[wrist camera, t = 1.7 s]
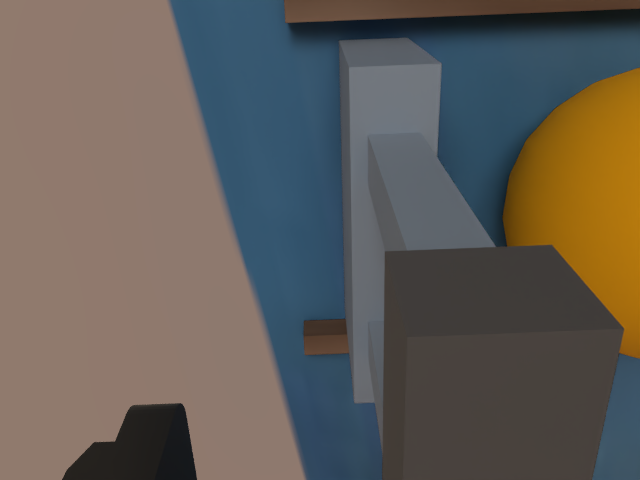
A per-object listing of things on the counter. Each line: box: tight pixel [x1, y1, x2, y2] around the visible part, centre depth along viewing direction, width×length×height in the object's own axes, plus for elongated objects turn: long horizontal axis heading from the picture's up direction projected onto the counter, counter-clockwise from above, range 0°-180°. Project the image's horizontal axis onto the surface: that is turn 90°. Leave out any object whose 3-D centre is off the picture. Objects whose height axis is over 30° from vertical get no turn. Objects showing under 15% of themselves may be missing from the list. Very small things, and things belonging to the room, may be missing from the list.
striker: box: [339, 38, 624, 480], centre depth 13 cm, size 9×2×14 cm, turn 2°
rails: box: [284, 0, 640, 355], centre depth 19 cm, size 12×17×1 cm
